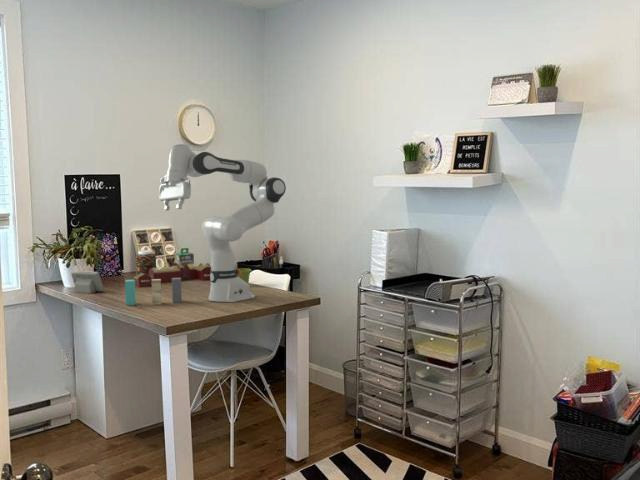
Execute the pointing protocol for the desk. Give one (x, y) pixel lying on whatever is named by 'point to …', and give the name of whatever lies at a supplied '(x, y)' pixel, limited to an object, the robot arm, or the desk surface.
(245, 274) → the plant pot
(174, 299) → the charcoal post
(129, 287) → the teal post
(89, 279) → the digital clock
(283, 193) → the robot arm
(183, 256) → the chalk box
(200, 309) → the desk surface
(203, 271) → the toy houses
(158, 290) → the birch post
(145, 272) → the jar
